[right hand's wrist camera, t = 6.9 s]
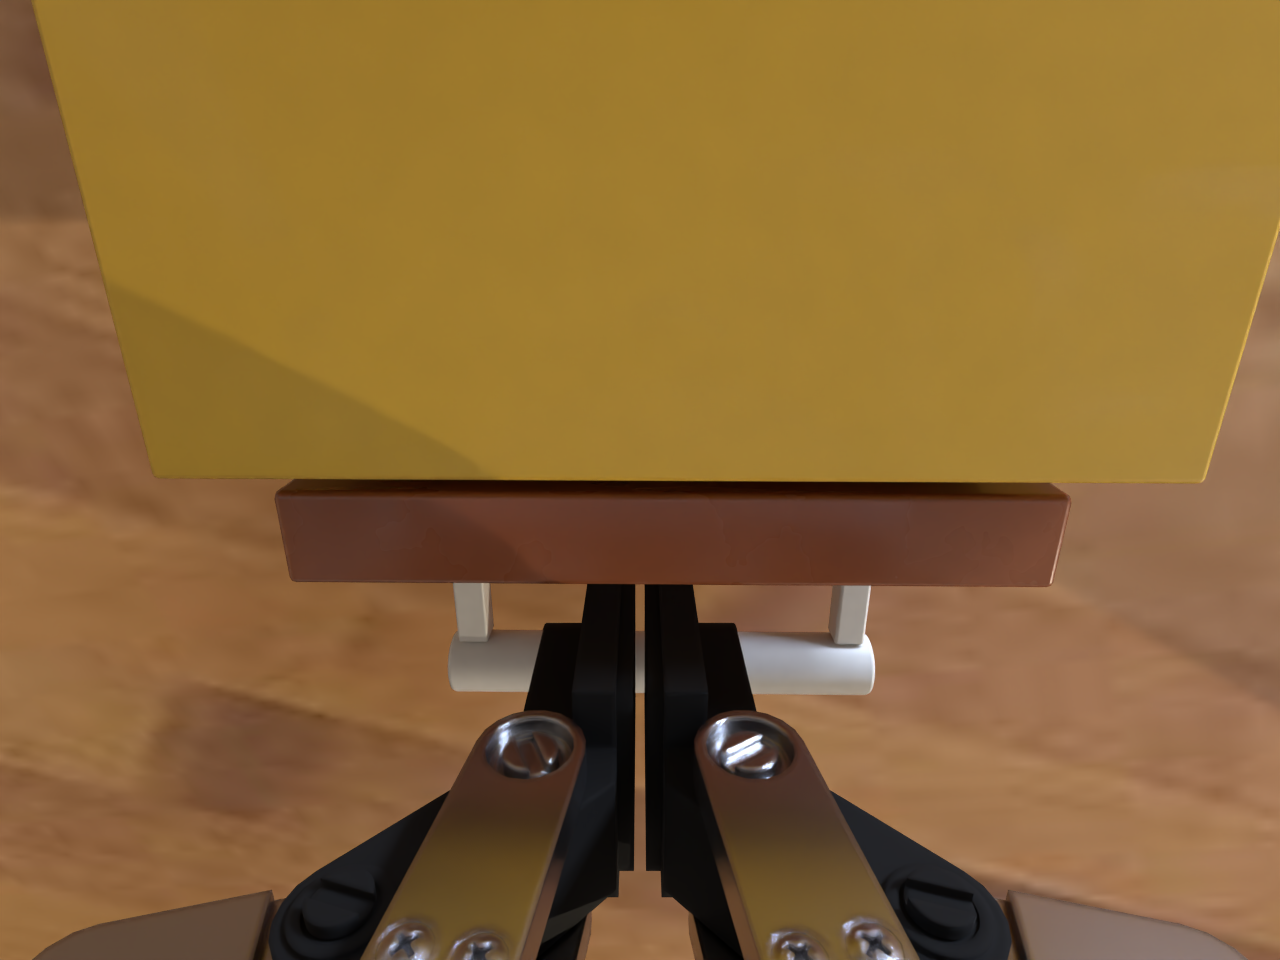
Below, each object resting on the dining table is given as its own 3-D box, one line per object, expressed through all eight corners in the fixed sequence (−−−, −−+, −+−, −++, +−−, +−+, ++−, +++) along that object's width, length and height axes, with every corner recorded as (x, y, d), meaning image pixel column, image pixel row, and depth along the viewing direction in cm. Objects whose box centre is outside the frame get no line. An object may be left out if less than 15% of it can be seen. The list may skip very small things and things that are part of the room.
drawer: (832, 590, 18) (983, 897, 10) (484, 588, 19) (348, 889, 10) (949, -502, 11) (1767, -2483, 3) (390, -494, 12) (-294, -2373, 3)
